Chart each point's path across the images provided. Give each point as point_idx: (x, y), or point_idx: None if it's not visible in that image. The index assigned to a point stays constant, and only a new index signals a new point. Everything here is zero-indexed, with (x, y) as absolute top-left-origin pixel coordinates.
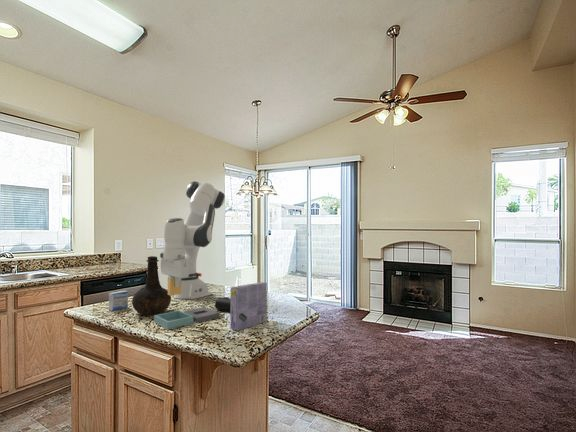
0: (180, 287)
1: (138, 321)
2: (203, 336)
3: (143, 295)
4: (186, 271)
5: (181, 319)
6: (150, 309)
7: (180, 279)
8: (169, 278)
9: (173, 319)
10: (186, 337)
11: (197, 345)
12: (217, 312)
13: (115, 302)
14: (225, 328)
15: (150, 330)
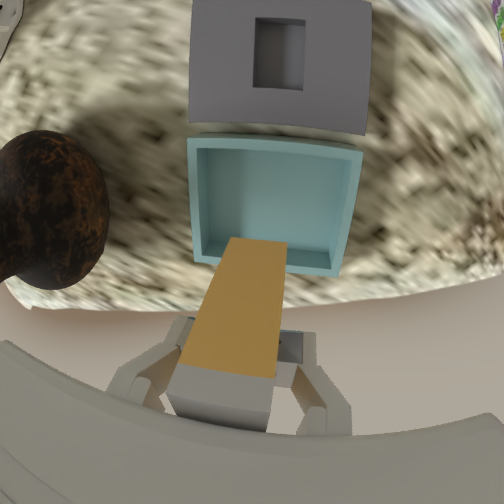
0: (282, 286)
1: (145, 263)
2: (476, 216)
3: (58, 284)
4: (495, 477)
5: (351, 216)
6: (106, 235)
7: (346, 401)
8: None
9: (225, 174)
10: (439, 253)
11: (491, 267)
12: (359, 4)
13: None
14: (486, 114)
15: None
